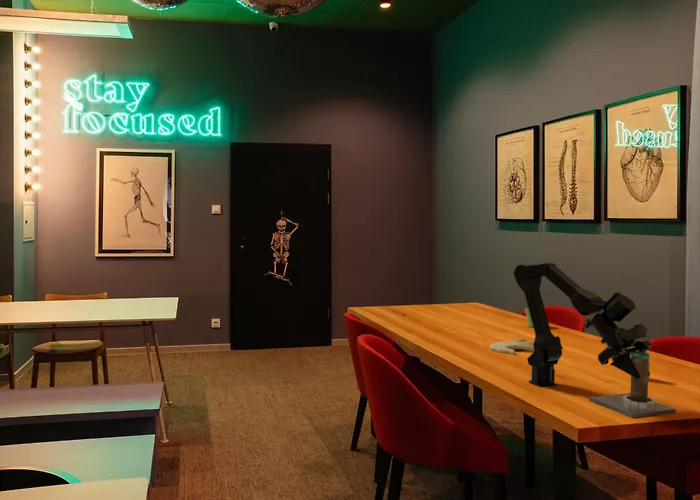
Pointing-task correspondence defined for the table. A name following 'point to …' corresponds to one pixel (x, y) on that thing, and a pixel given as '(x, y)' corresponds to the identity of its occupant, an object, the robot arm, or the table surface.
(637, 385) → the travel tumbler
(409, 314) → the table surface
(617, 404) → the hub
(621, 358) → the robot arm
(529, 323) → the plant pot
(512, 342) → the hand model
